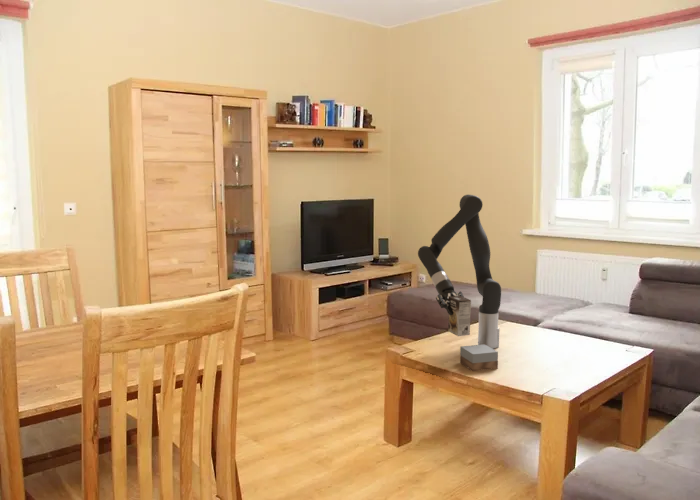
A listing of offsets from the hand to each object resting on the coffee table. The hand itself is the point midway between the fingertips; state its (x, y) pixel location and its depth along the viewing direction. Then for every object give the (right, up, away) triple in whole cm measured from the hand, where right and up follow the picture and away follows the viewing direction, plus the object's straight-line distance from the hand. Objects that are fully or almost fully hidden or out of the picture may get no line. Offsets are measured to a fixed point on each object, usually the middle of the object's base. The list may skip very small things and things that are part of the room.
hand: (458, 313), depth 276 cm
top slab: (+8, -19, -3) cm, 21 cm away
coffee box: (0, -9, 0) cm, 9 cm away
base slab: (+8, -23, -3) cm, 25 cm away
